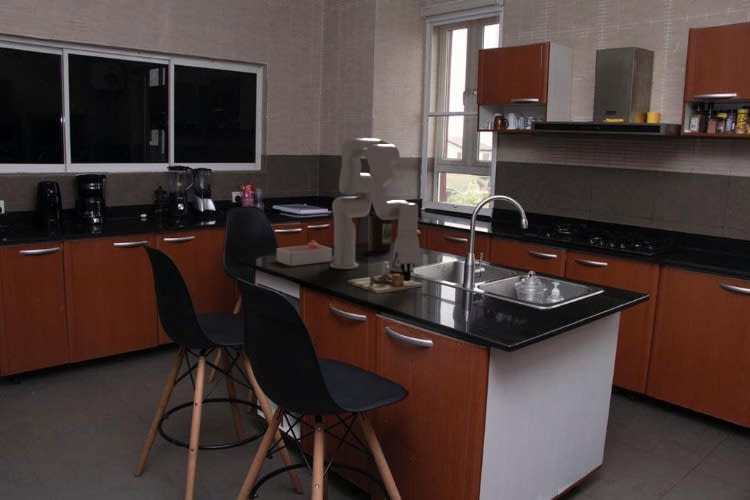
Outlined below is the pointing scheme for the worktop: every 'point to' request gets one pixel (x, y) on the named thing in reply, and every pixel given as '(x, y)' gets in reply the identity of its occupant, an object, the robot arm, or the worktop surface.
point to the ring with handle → (391, 280)
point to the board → (382, 285)
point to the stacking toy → (394, 268)
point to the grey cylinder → (384, 273)
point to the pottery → (312, 245)
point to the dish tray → (303, 255)
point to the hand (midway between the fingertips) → (406, 280)
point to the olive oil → (381, 234)
